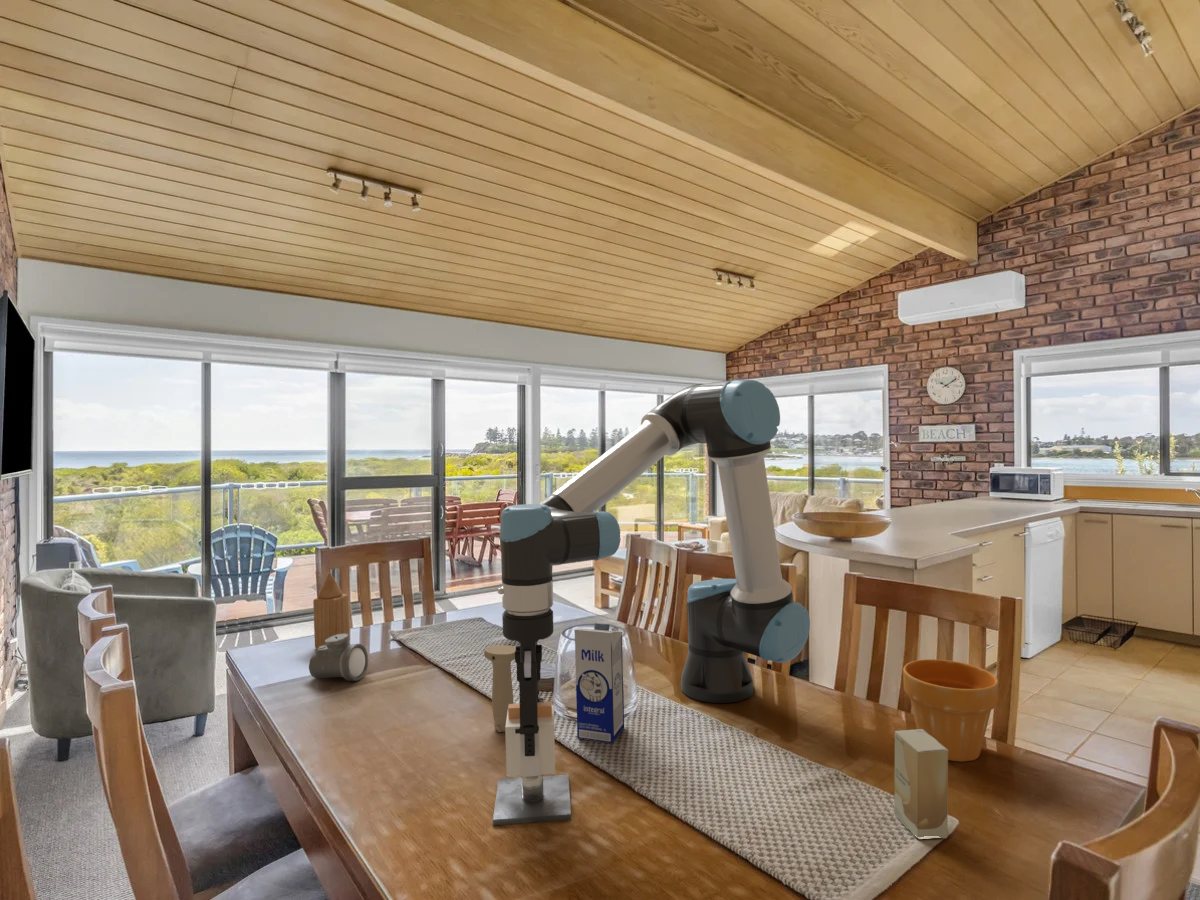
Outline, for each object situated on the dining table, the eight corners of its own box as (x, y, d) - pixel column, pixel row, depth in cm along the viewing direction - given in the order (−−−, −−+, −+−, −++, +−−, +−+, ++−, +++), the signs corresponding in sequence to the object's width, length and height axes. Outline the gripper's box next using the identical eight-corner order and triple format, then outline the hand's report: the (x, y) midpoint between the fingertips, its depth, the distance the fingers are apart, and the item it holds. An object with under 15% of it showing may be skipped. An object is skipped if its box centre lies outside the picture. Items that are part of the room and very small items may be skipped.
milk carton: (576, 738, 119) (573, 628, 118) (589, 722, 125) (587, 618, 125) (613, 744, 116) (610, 631, 116) (625, 727, 123) (622, 620, 122)
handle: (509, 738, 120) (507, 656, 119) (481, 731, 123) (479, 651, 122) (525, 727, 124) (522, 648, 123) (497, 720, 127) (495, 643, 127)
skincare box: (893, 814, 93) (891, 729, 93) (922, 812, 94) (921, 727, 93) (918, 842, 87) (917, 750, 86) (950, 840, 87) (949, 748, 87)
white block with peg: (554, 750, 102) (553, 694, 102) (555, 773, 95) (553, 713, 95) (509, 753, 102) (507, 697, 102) (506, 776, 95) (505, 716, 95)
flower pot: (988, 736, 116) (987, 662, 115) (1009, 776, 102) (1008, 693, 102) (899, 726, 120) (899, 655, 120) (909, 763, 107) (908, 684, 107)
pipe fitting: (373, 671, 155) (365, 629, 154) (352, 687, 147) (344, 642, 146) (329, 673, 158) (321, 632, 157) (307, 689, 150) (298, 645, 149)
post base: (568, 779, 105) (567, 749, 105) (571, 819, 94) (570, 786, 94) (498, 784, 104) (497, 754, 104) (493, 825, 93) (492, 791, 93)
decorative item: (313, 649, 173) (311, 573, 173) (328, 641, 180) (325, 568, 179) (337, 649, 172) (334, 573, 172) (350, 641, 179) (348, 568, 178)
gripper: (506, 594, 108) (509, 733, 108) (497, 629, 88) (501, 800, 88) (552, 592, 108) (555, 730, 109) (553, 627, 88) (557, 796, 89)
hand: (531, 761), depth 99 cm, fingers closed on white block with peg, 7 cm apart
